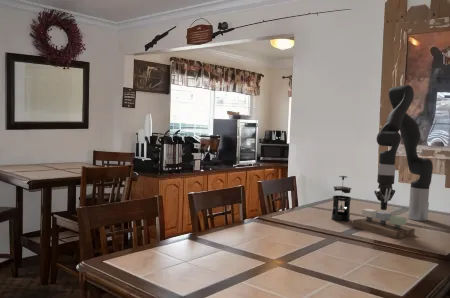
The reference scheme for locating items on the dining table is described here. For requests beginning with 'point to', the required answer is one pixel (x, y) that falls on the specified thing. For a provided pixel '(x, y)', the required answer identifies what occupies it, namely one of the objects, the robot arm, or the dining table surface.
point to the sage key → (398, 221)
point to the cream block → (369, 213)
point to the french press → (341, 215)
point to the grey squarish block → (383, 217)
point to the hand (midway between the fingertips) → (383, 209)
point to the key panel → (383, 228)
